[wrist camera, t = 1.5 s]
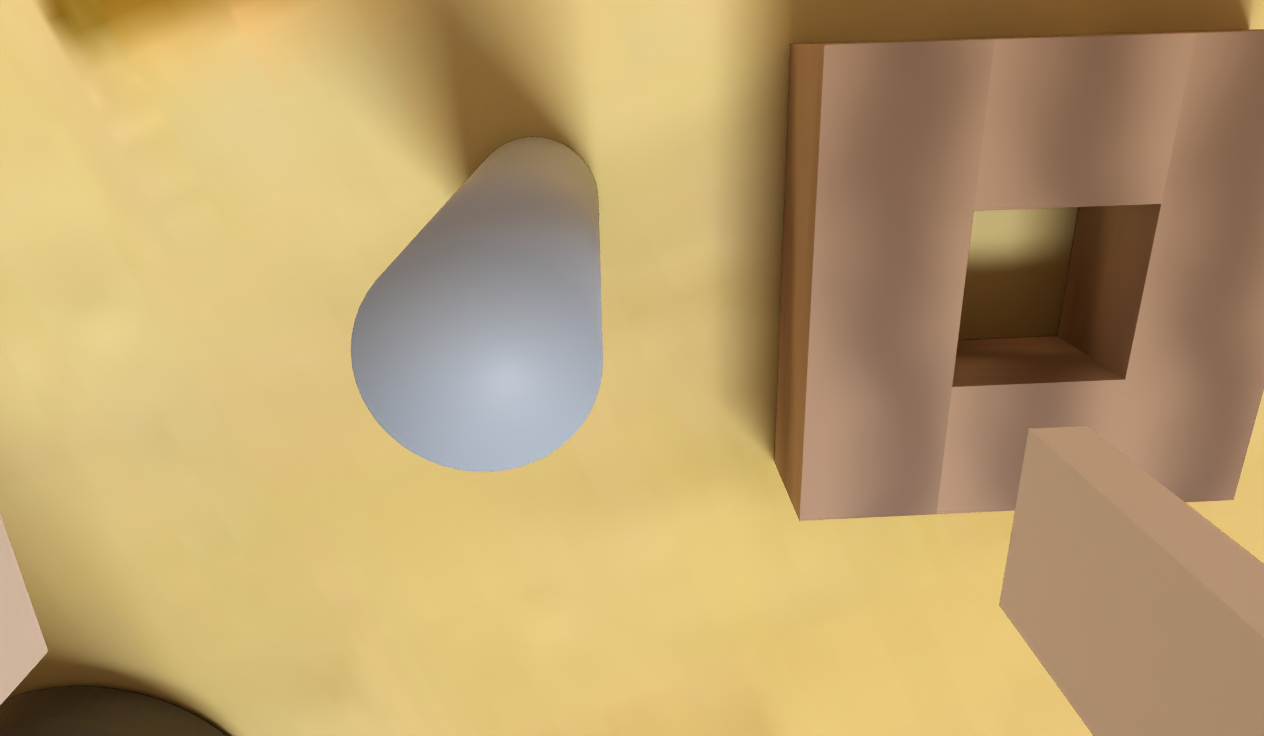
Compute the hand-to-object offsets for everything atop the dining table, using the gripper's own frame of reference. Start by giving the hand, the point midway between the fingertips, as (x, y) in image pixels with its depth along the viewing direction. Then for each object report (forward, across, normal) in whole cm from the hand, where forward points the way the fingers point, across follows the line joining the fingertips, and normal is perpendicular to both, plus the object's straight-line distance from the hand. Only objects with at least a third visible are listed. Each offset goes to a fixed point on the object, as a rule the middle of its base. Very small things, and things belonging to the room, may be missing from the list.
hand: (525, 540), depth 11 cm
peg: (+21, -1, +1) cm, 21 cm away
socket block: (+21, +16, -2) cm, 26 cm away
